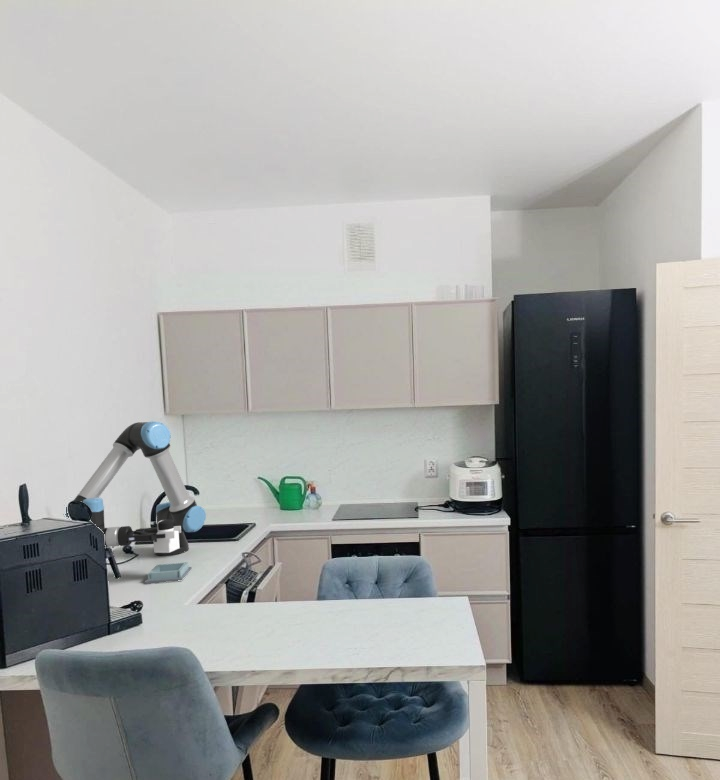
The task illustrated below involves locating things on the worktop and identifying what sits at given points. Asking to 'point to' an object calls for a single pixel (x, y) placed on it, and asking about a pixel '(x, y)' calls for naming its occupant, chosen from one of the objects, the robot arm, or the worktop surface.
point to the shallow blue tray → (168, 572)
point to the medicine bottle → (166, 544)
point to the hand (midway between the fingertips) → (177, 531)
